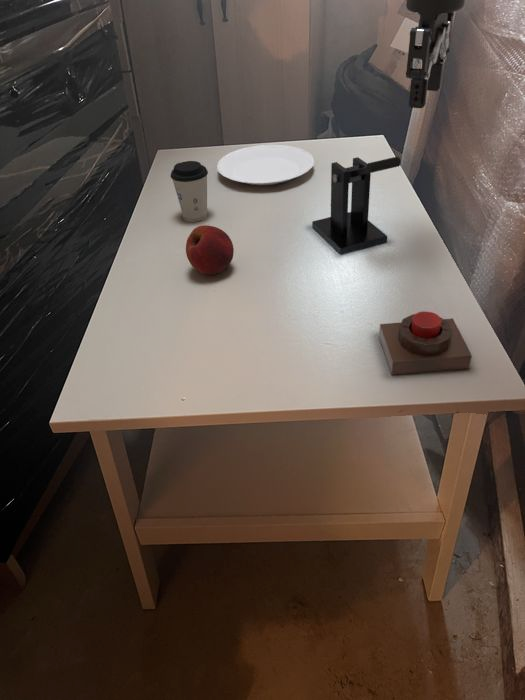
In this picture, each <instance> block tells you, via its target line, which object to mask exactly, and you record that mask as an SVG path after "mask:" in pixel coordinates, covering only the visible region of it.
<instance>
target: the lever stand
mask: <svg viewBox="0 0 525 700" xmlns="http://www.w3.org/2000/svg"><path fill="white" fill-rule="evenodd" d="M367 164H368V162H366V161H365V160H363V159H361V158H360V157H358V156H357V157H353V158H352V167H353V166H357V165H359V168H363V167H366V166H367ZM345 168H346V167H344V166H343V165H341V164H340V163H339V162H337V161H335V162H331V164H330V169H331V170H330V172H331V173H330V216H328V217H324V218H321V219H317V220H313V221H312V222H311V226H312V229H313V230H315V231H316V233H318V234H319V235H320V236H321V237H322V238H323V240H325V241H326V242H327V243H328V244H329V245H330V246H331V247H332V248H333V249H334V250H335V251H336V252H337V253H338V254H339V255H344V254H348V253H351V252H355V251H360V250H363V249H367V248H370V247H374V246H377V245H381V244H385V243H387V242H388V235H387V234H386V233H385V232H383V231H382V230H381V229H379V228H378V227H377V226H376V225H374V224H373V223H372V222H371V221H370V220H369V210H370V209H369V208H370V194H371V193H370V192H371V191H370V190H371V175H372V173H367V174H364V175H361V179H362V180H360V181H356V182H352V183H351V196H350V197H351V201H350V211H349V189H350V188H349V187H350V185H349V184H350V183H349V171H348V170H347V169H345Z"/></svg>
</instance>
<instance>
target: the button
mask: <svg viewBox="0 0 525 700" xmlns="http://www.w3.org/2000/svg"><path fill="white" fill-rule="evenodd" d="M414 314H415V315H414V316H413V318H412V326H411V331H412V333H413V334H414V335H415V336H417V337H421V338H425V339H429V338H435V337H436V336H438V335H439V333H440V328H441V322H442V321H441V318H442V317H441V316H439V314H437V313H435V312H432V311H425V310H424V311H418V312H416V313H414ZM440 317H441V318H440Z"/></svg>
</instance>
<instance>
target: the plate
mask: <svg viewBox="0 0 525 700" xmlns="http://www.w3.org/2000/svg"><path fill="white" fill-rule="evenodd" d="M314 164H315V157H313V155H312V154H311V153H310V152H308V151H307V150H305V149H302V148H301V147H300V148H299V147H297V146H292V145H286V144H257V145H252V146H247V147H243V148H240V149H237V150H234V151H231V152H229V153H227V154H226V155H224V156H223V157H221V158H220V159H219V161H218V162H217V165H216V169H217V171H218V173H219V174H220V175H221V176H223V178H226V179H229V180H231V181H234V182H239V183H242V184H247V185H250V186H273V185H277V184H282V183H286V182H288V181H291V180H292V179H295V178H299V177H300V176H302V175H304V174H306V173H308V172H309V171H310V170H311V169H312V168H313V167H314Z"/></svg>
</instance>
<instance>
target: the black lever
mask: <svg viewBox="0 0 525 700" xmlns="http://www.w3.org/2000/svg"><path fill="white" fill-rule="evenodd" d="M401 163H402V161H401V158H400V156H394V157H388V158H385V159H380V160H376V161H372V162H367V166H366V167H363V168H359V165H357V166H353V165H352V166H347V167H344V168H345V169H347V170H348V171H349V184H352V182H356V181H360V180H362V179H361V175H364V174H367V173H371V174H372V173H376V172H381V171H385V170H389V169H394V168H397V167H400V166H401Z"/></svg>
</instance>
